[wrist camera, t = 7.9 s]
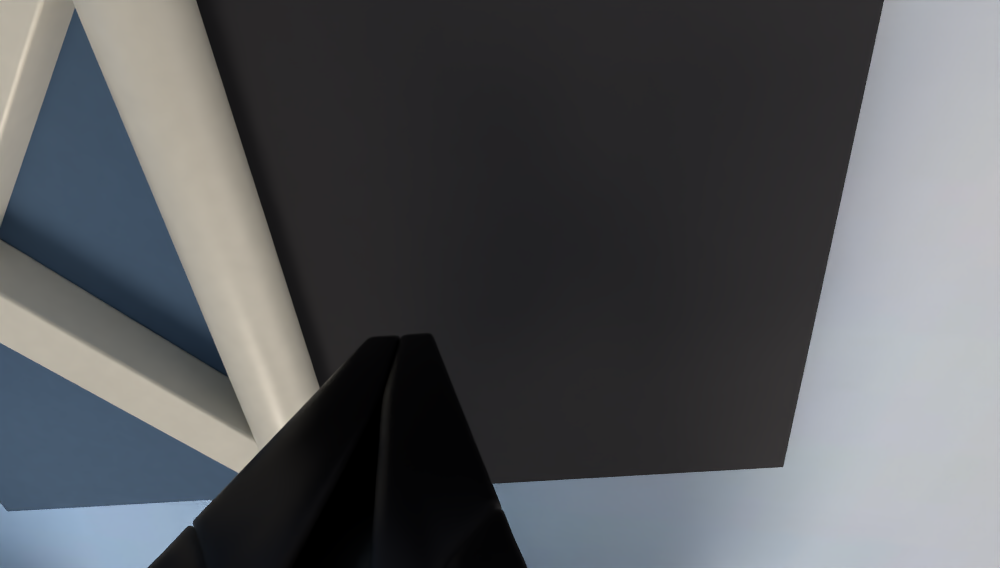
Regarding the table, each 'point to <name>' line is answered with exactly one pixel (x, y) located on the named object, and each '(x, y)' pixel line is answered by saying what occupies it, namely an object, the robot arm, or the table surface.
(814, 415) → the table surface
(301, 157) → the mat
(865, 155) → the table surface
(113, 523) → the table surface
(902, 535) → the table surface
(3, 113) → the hanger
